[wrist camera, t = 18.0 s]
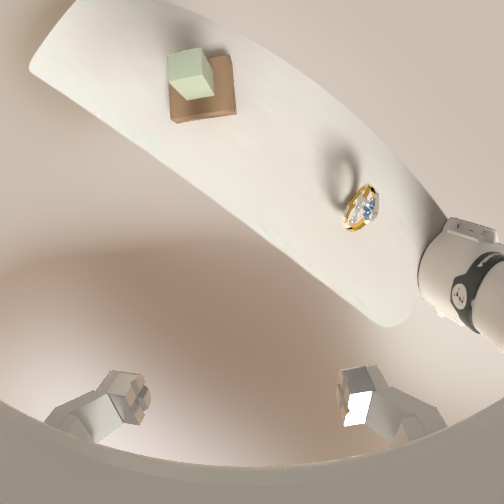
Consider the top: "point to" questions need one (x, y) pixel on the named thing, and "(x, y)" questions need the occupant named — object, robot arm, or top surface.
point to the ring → (361, 197)
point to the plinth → (209, 105)
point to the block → (191, 73)
